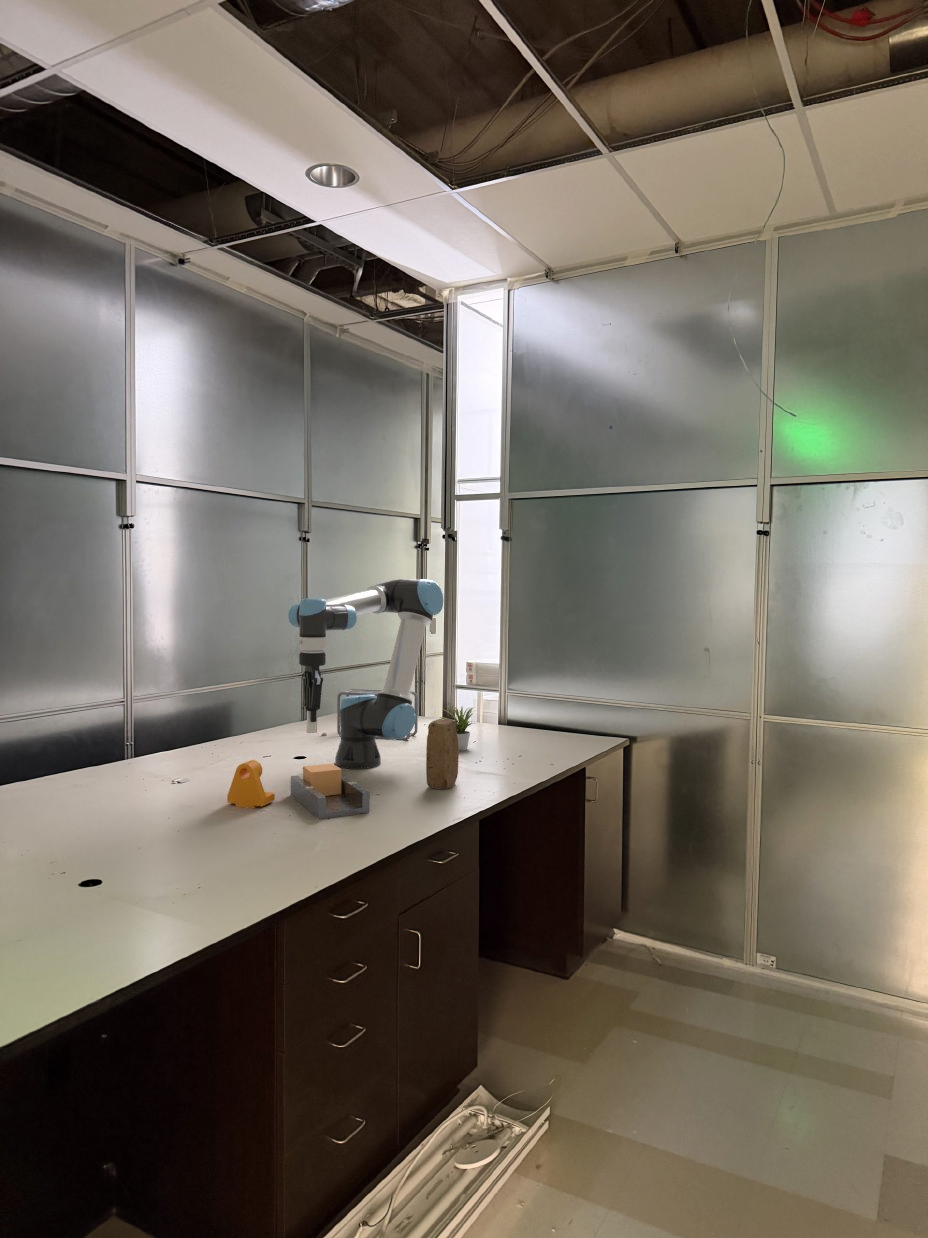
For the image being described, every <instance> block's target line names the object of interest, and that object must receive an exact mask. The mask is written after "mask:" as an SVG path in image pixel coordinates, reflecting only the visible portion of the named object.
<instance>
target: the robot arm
mask: <svg viewBox="0 0 928 1238" xmlns="http://www.w3.org/2000/svg"><path fill="white" fill-rule="evenodd" d="M443 608H444V593H443V591H442V588H441V587H440V585H439V584H438V583H437V581H434V580H431V579H424V578H421V579H400V578H399V579H394V580H390V581H386V582H381V583H379V584H376V585H371V586H369V587H367V589H365V590H361V591H357V592H352V593H348V594H344V595H340V596H335V597H331V598H302V599H301V600H300V601H299V603H295V604H293V605H291V607H290V608H289V610H288V612H287V613H288V614H287V616H288V622H289V623H290V625H292V626H293V627H295V628H299V640H297V644H298V645H299V651H301V652H300V653H298V654H299V655H298V656H299V657H298V658H299V660H298V663H299V665H300V666H301V667H302V666H303V667H304V671H303V673H302V674H301V678H302V689H303V691H302V692H303V705H304V707H305V709H306V733H307V734H318V711H319V710H320V709H321V700H322V690H323V689H322V688H323V682H324V678H323V677H322V675H321V674H322V673H321V671H320V666H321V667H323V666H325V665H326V663H327V662H326V661H327V660H326V658H327V657H326V653H325V652H324V651H326V650H327V637H326V636H327V635H326V634H327V631H345V630H350V629H352V628H354V627H355V625H356V623H357V620H358V619H357V618H358V616H361V615H365V614H369V613H373V614H377V615H378V614H380V613H392V614H394V613H396V614H397V616H398V617H399V619H400V623H399V626H398V631H397V633H396V634H397V635H396V638H395V642H394V647H393V650H392V655H391V659H390V662H389V666H388V670H387V674H386V679H385V682H384V686H383V689H381V690H382V691H380V692H378V694H377V696H375V695H373V694H369V695H349V697H346V696H345V697H343V698H342V699H341V700H340V732H341V736H340V742H339V744H338V748H337V752H336V755H335V758H334V759H335V760H334V765H335V766H337V767H338V768H343V769H353V770H356V769H357V770H358V769H359V770H360V769H371V768H375V767H378V766H380V765H381V764H382V762H381V761H382V760H381V758H382V756H381V754H380V751H379V747H378V744H377V742H376V741H377V739H376V736H379V737H385V738H388V739H387V740H390V739H402V738H404V737H407V736H406V735H408V734H409V733H412V730H413V729H414V728H415V720H416V714H415V707H414V706H413V705H412V704H413V700H412V698H411V696H410V694H409V693H410V691H411V688H412V686H413V685H412V684H413V681H414V677H415V676H414V675H415V672H416V668H417V663H418V660H419V656H420V651H421V648H422V643H423V639H424V635H425V631H426V628H427V626H428V625H431V624H432V622H433V617H434V616H437V615H438V614H440V613H441V611H442V610H443Z"/></svg>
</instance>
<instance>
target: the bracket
mask: <svg viewBox="0 0 928 1238" xmlns="http://www.w3.org/2000/svg"><path fill="white" fill-rule="evenodd" d="M262 774H263V767H262V764H261V763H260V762H259V761H258V760H255V759H251V760H248V761H246V762H243V763H241V764H239V765H238V766H237V767H236V769H235V772H234V775H233V777H232V781H231V784H230V787H229V790H228V793H227V794H226V795H227V799H226V800H227V802H226V803H228V804H235V807H237V806H238V808H247V807H248V809H249V808H250V809H256V808H257V807H264V806H266V805H268V804H270V803H272V802H273V801H275V796H276V795H275V792H271V791H265V789H264V787H263V783H262V781H261V777H262Z"/></svg>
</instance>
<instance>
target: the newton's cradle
mask: <svg viewBox="0 0 928 1238" xmlns="http://www.w3.org/2000/svg"><path fill="white" fill-rule="evenodd" d="M382 690H383V689H369V688H368V689H365V688H349V689H348V690H347V691H340V692H338V694H337V698H336V699H337V701H336V704H337V707H336V708H337V711H336V712H337V713H336V714H337V715H336V716H337V717H336V719H337V720H336V721H337V724H336V725H337V727H336V728H337V729H336V730H337V735H338V736H340V737H341V727H340V709H341V696H342V695H345V697H350V696H357V695H369V694H373V695H375V696H376V697H377V694H378V692H380V691H382ZM409 695H412V696H414V709H415V713H414V714H416V720H415V724H414V731H413V732H410V733H409V734H408V735H406V736H405V737H404V738H402V739H396V740H395V741H408V740H409V739H410V737H414V736H415V735H417V734H418V725H419V724H418V722H419V721H418V710H419V708H418V704H419V703H418V702H419V700H418V699H419V698H418V693H416V692H415V691H413V690H410V693H409ZM376 738H377V739H376V740H389V739H388V738H385V737H379V736H376Z"/></svg>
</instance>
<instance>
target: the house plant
mask: <svg viewBox="0 0 928 1238" xmlns="http://www.w3.org/2000/svg"><path fill="white" fill-rule="evenodd" d="M451 708H452V709H453V711H454V713H455V715H454V713H452V712H450V711H449V710H446V709H445V712H446V713H448V714H449V715H450V716H451V717H452V718H453V719H452V720H454V721H455V723H456V732H457V736H458V752H460V751H467V750H468V748H469V742H470V735H471V732H470V731H468V730H467V728H468V727H469V726H471V725H473V724H475V725H476V724H477V723H475V722H472V721H470V718H471V717H472V715H473V714H474V713H475V711H473V710H474V708H476V707H475V706H473V707H468V708H466V709H465V711H464V710H463V706H461V709H460V710H459V709H458V708H457V707H456V706H455V705H454V706H453V707H451ZM441 710H442V711H443V710H444V709H441ZM463 712H464V713H463ZM439 719H449V718H448V717H442V716H439Z"/></svg>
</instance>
